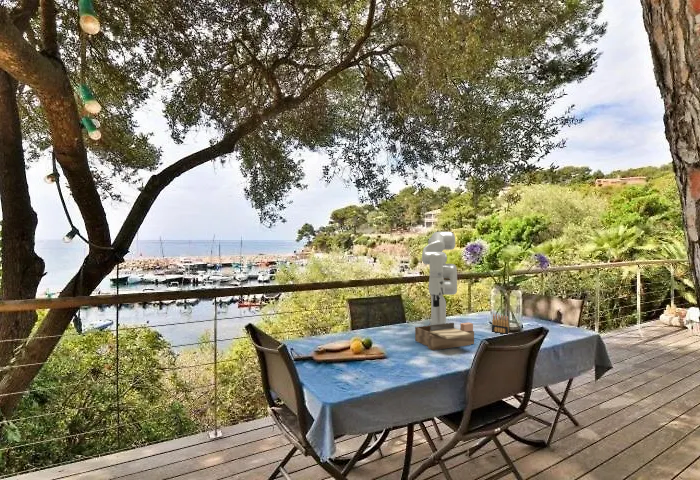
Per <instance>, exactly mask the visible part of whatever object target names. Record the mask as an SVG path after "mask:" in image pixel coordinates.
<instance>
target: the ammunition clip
mask: <svg viewBox="0 0 700 480" xmlns="http://www.w3.org/2000/svg"><path fill="white" fill-rule="evenodd" d="M509 326H510V325H509V316H508V315H504V316H503V314H501V316H500V314H497V313H496V314H495V313H493V315H492V323H491V333H492V332H495V333H494V334H497V333H500V334H499V335H502V336H504V335H503V334H508V333H509V334H510V327H509Z"/></svg>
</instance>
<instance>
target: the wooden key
mask: <svg viewBox="0 0 700 480" xmlns="http://www.w3.org/2000/svg"><path fill="white" fill-rule="evenodd" d="M459 325H460V327H459V330H462V331H465V332H467V331H474V323H472V322H462V323H460V324H459Z"/></svg>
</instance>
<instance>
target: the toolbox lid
mask: <svg viewBox="0 0 700 480" xmlns="http://www.w3.org/2000/svg"><path fill="white" fill-rule="evenodd" d="M430 333H433V334H435V335H438V336H441V337H443V338H446V339H452V338H460V337H467V336H472V334H470V333H468V332H465V331H462V330H460V328H459V329H458V328H455V322H446V323H444V324H436V325H431V330H430Z"/></svg>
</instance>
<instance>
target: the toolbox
mask: <svg viewBox="0 0 700 480" xmlns="http://www.w3.org/2000/svg"><path fill="white" fill-rule="evenodd" d="M429 325H430V324H429ZM429 325H423V326H415V327H414V328H415V329H414V340H415V342H417V343H419V344H422V345H423V346H426V347H427V349H428V350H431V351H437V350H445V349H452V348H458V347H464V346H472V345H471V344H474V345H475V331H474V330H473V331H467V332H468V333H470V334H472V336H467V337H460V338H452V339H446V338H443V337H441V336H438V335H435V334H433V333H430V330H431V325H430V326H429Z"/></svg>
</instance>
